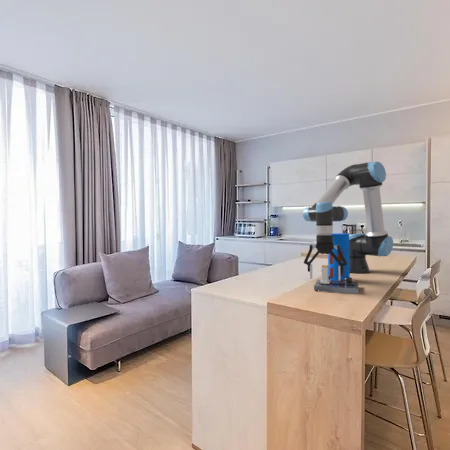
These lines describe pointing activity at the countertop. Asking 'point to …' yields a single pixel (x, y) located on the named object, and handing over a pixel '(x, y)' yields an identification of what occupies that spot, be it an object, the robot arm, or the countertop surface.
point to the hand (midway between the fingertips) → (325, 279)
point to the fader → (325, 275)
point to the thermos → (333, 266)
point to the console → (338, 286)
